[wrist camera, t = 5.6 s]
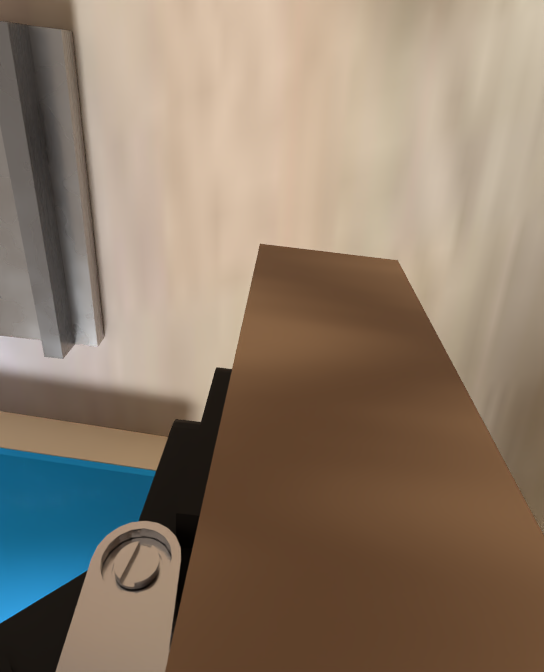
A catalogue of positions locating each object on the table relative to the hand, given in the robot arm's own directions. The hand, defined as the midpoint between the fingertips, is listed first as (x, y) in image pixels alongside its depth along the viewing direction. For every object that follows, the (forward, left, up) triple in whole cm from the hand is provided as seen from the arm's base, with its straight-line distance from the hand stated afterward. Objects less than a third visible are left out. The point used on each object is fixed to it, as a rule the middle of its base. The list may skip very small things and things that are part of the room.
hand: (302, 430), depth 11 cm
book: (+15, +27, -15) cm, 34 cm away
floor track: (+15, 0, -14) cm, 21 cm away
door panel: (0, 0, -1) cm, 1 cm away
